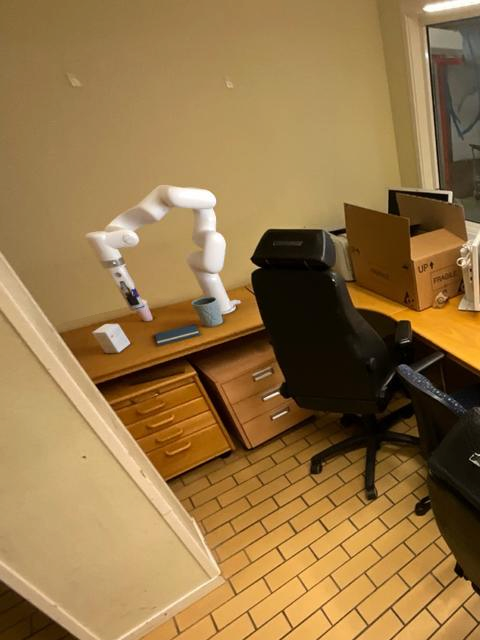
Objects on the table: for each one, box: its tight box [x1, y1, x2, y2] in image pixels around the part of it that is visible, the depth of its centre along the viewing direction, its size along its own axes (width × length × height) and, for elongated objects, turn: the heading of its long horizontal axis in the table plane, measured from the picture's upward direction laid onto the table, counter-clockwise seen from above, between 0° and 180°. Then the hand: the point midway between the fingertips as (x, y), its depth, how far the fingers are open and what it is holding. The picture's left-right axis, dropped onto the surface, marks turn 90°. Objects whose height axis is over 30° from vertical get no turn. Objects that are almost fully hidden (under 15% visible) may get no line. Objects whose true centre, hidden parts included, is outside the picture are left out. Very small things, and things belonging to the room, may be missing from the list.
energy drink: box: [116, 282, 145, 312], centre depth 172 cm, size 5×5×12 cm
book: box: [154, 323, 201, 347], centre depth 185 cm, size 16×12×1 cm
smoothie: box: [136, 298, 154, 322], centre depth 193 cm, size 6×6×14 cm
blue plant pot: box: [191, 296, 224, 328], centre depth 192 cm, size 10×10×12 cm
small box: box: [91, 323, 131, 354], centre depth 172 cm, size 8×6×10 cm
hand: (134, 302), depth 173 cm, fingers closed on energy drink, 5 cm apart
